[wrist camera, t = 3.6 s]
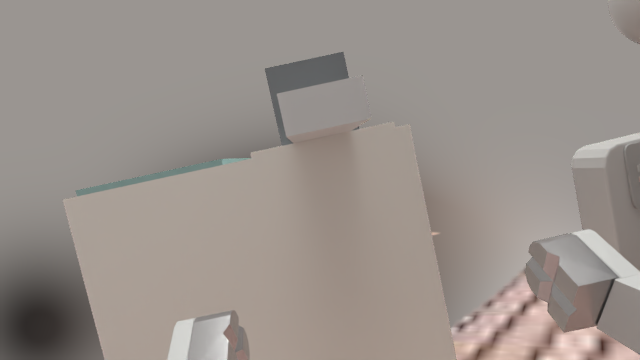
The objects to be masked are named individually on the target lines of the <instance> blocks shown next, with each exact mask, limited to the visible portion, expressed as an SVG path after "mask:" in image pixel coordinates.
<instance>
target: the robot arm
mask: <svg viewBox="0 0 640 360" xmlns="http://www.w3.org/2000/svg"><path fill="white" fill-rule="evenodd" d="M608 8H609V13H610V16H611V19H612V21H613V23H614V25H615V26H616V27H617V29H618V30H619V31H620V32H621V33H622V34H623V35H624V36H625V37H627V38H628V39H630V40H631V41H633V42H635V43H638V44H640V0H608ZM529 253H530V254H531V256H532V258H531V259H530V260H529V261H528V262H527V263H526V270H525V274H526V278H527V282H528V284H529V286H530V288H531V290H532V291H533V292H534V294H535V295H536V297H537V298H539V299H541V300H543V301H545V302H547V303H548V310H547V311H548V313H549V314H550V315H551V316H552V318H553V319H554V320H555V322H556V323H557V324H558V326H559V327H560V328H561V330H562V331H563V332H569V331H574V330H579V329H584V328H589V327H594V326H597V327H596V328H597V329H599V330H601V331H602V332H604V333H605V334H607V335H609V336H610V337H612V338H614V339H615V340H617V341H618V342H620V343H622V344H623V345H625V346H626V347H628V348H630V349H631V350H633V351H635V352H636V353H638V354H639V355H640V271H639V270H637V269H636V268H635V267H634V266H633V265H632V264H631V263H630V262H629V261H627V260H626V259H625V258H624V257H623V256H622V255H621V254H620V253H618V252H617V251H616V250H615V249H614V248H613V247H612V246H611V245H609V244H608V243H607V242H606V241H605V240H604V239H603V238H602V237H600V236H599V235H598V234H597V233H596V232H595V231H593V230H590V229H587V230H582V231H578V232H573V233H570V234H563V235H559V236H555V237H551V238H547V239H543V240H538V241H534V242H532V244H531V245H530V247H529ZM238 324H239V317H238V315H237V313H236V311H235V310H232V311H227V312H221V313H216V314H211V315H206V316H201V317H196V318H192V319H187V320H183V321H178V322H177V323H176V325H175V327H174V329H173V334H172V339H171V343H170V348H169V353H168V357H167V360H250V351H249V343H248V338H247V335H246V332H245V330H244V328H243V327H241V326H239V325H238Z"/></svg>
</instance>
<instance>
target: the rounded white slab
mask: <svg viewBox="0 0 640 360" xmlns="http://www.w3.org/2000/svg"><path fill="white" fill-rule="evenodd" d="M572 172H573V178H574V183H575V189H576V194H577V201H578V206H579V212H580V218H581V224H582V229H583V230H587V229H590V230H593V231H595V232H596V233H597V234H598V235H599V236H600V237H602V238H603V239H604V240H605V241H606V242H607V243H608V244H609V245H611V246H612V247H613V248H614V249H615V250H616V251H617V252H618V253H620V254H621V255H622V256H623V257H624V258H625V259H626V260H627V261H629V262H630V263H631V264H632V265H633V266H634V267H635V268H636V269H637V270H639V271H640V133H636V134H632V135H628V136H624V137H620V138H616V139H612V140H608V141H604V142H599V143H595V144H591V145H587V146H584V147H582V148H580V149H579V150H577V151H576V153H575V155H574V157H573V158H572Z"/></svg>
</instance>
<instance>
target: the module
mask: <svg viewBox="0 0 640 360" xmlns="http://www.w3.org/2000/svg"><path fill="white" fill-rule="evenodd" d="M265 72H266V76H267V80H268V85H269V89H270V94H271V99H272V103H273V108H274V112H275V117H276V121H277V126H278V130H279V134H280V139H281V143H282V146H284V145H288V144H293V143H298V142H302V141H307V140H311V139H316V138H321V137H325V136H330V135H334V134H339V133H344V132H348V131H353V130H357V129H359V126H360V125H362V124H363V123H365V122H366V121H368V120H370V119H371V114H370V109H369V104H368V99H367V94H366V90H365V85H364V80H363V75H361V76H357V77H352V78H349V77H348V72H347V67H346V62H345V58H344V53H343V52H341V53H336V54H331V55H326V56H322V57H317V58H312V59H308V60H303V61H298V62H293V63H289V64H284V65H279V66H275V67H270V68H266V69H265Z"/></svg>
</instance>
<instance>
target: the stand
mask: <svg viewBox="0 0 640 360" xmlns="http://www.w3.org/2000/svg"><path fill="white" fill-rule="evenodd" d="M76 194H77V197H72V198H68V199H63V203H64V207H65V211H66V214H67V218H68V222H69V226H70V230H71V234H72V237H73V241H74V245H75V249H76V253H77V256H78V260H79V264H80V268H81V272H82V275H83V279H84V283H85V287H86V291H87V294H88V298H89V302H90V306H91V310H92V313H93V317H94V320H95V325H96V328H97V332H98V336H99V340H100V344H101V348H102V351H103V355H104V359H105V360H167V357H168V353H169V348H170V343H171V339H172V334H173V329H174V327H175V325H176V323H177V322H178V321H183V320H187V319H192V318H196V317H201V316H206V315H211V314H216V313H221V312H227V311H232V310H235V311H236V313H237V315H238V317H239V324H238V325H239V326H241V327H243V328H244V330H245V332H246V335H247V338H248V343H249V351H250V360H457V359H456V354H455V349H454V344H453V339H452V334H451V329H450V324H449V319H448V314H447V309H446V304H445V299H444V294H443V289H442V284H441V279H440V274H439V269H438V264H437V259H436V254H435V249H434V244H433V239H432V234H431V229H430V224H429V219H428V214H427V209H426V204H425V199H424V194H423V189H422V184H421V179H420V174H419V169H418V164H417V159H416V154H415V149H414V144H413V139H412V134H411V129H410V125H409V124H408V125H404V126H400V127H395V123H394V122H390V123H385V124H381V125H376V126H371V127H367V128H362V129H357V130H353V131H348V132H344V133H339V134H334V135H330V136H325V137H321V138H316V139H311V140H307V141H302V142H298V143H293V144H288V145H284V146H279V147H275V148H270V149H266V150H261V151H256V152H252V153H251V158H242V159H220V160H215V161H210V162H205V163H201V164H196V165H192V166H187V167H182V168H178V169H173V170H169V171H164V172H160V173H155V174H150V175H145V176H141V177H137V178H132V179H128V180H122V181H118V182H113V183H109V184H104V185H100V186H95V187H90V188H86V189H81V190H77V191H76Z"/></svg>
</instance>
